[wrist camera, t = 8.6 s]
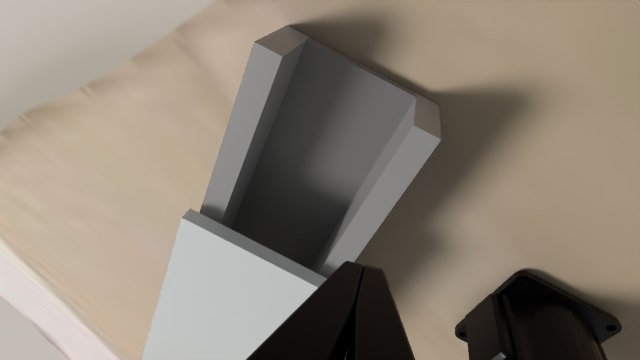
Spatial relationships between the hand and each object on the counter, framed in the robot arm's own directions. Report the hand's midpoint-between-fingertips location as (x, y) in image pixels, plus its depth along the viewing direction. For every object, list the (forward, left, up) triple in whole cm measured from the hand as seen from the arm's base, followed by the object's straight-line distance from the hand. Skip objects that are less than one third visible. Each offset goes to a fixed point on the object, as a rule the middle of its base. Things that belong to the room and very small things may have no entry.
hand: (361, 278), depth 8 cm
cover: (+2, +17, -7) cm, 19 cm away
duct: (+2, +8, -12) cm, 14 cm away
